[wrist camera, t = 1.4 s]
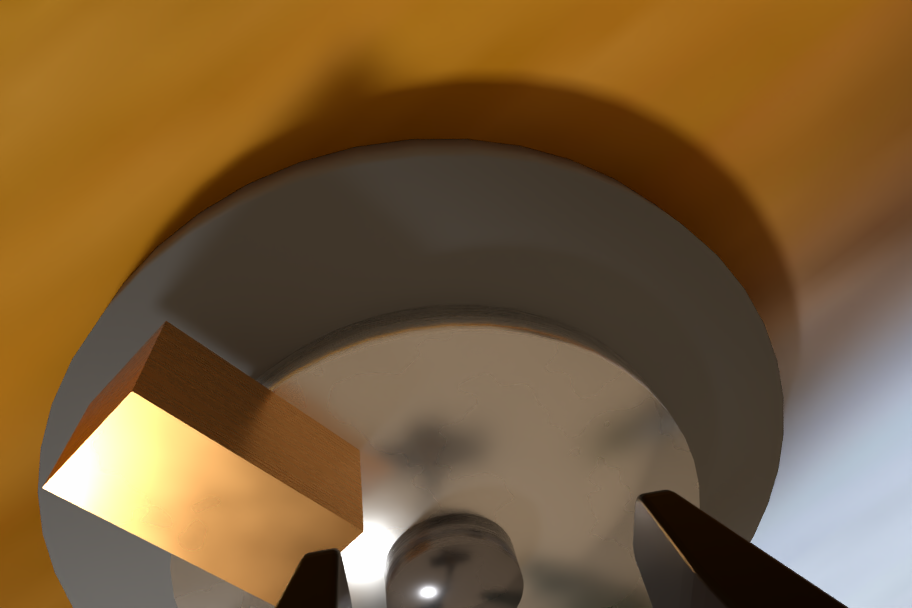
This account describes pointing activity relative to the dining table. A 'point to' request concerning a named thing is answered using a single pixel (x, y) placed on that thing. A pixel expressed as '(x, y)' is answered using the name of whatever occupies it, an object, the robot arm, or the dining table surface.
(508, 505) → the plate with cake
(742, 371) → the base plate
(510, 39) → the dining table surface
